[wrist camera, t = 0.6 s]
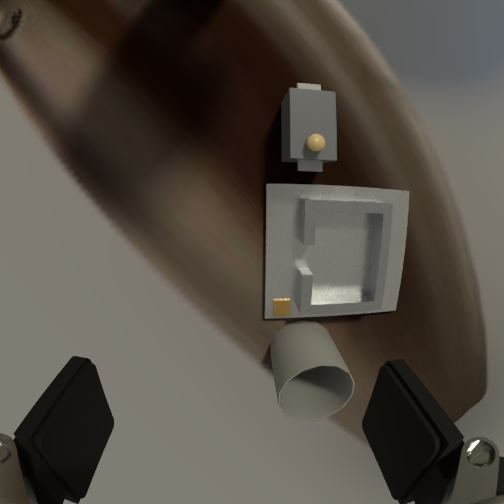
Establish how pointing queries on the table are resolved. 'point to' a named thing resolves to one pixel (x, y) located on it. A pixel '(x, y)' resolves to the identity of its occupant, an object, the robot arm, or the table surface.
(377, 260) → the board
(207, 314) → the table surface
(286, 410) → the cup
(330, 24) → the table surface
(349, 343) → the table surface
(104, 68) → the table surface
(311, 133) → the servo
